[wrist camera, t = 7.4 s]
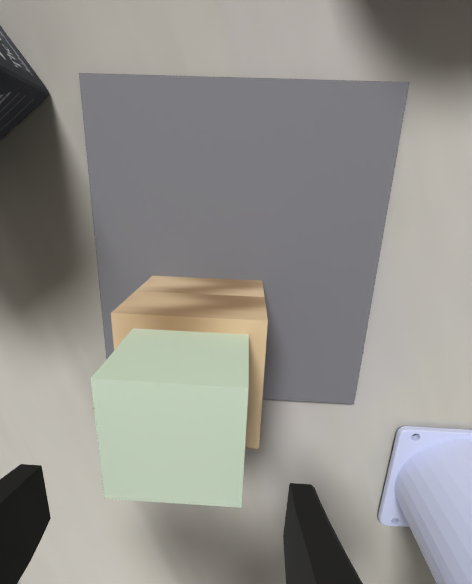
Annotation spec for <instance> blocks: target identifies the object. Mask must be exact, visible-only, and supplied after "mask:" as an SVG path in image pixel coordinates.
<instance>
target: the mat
mask: <svg viewBox="0 0 472 584" xmlns="http://www.w3.org/2000/svg"><path fill="white" fill-rule="evenodd" d="M79 78H80V89H81V99H82V109H83V120H84V130H85V140H86V151H87V161H88V172H89V182H90V192H91V203H92V213H93V223H94V234H95V244H96V255H97V265H98V275H99V286H100V296H101V306H102V317H103V327H104V337H105V348H106V358H107V359H108V357H109V356H110V355H111V354H112V353H113V351H114V344H113V332H112V321H111V312H113V311H114V310H115V309H116V308H117V307H118V306H119V305H120V304H121V303H123V302H124V301H125V300H126V299H127V298H128V297H129V296H130V295H132V294H133V293H134V292H135V291H136V290H137V289H138V288H139V287H140V286H141V285H143V284H144V283H145V282H146V281H147V280H148V279H149V278H150V277H151V276H171V277H193V278H215V279H238V280H260V281H262V282H263V289H264V297H265V303H266V311H267V318H268V326H267V340H266V354H265V368H264V382H263V397H262V399H270V400H288V401H306V402H325V403H343V404H354V401H355V395H356V389H357V383H358V378H359V372H360V366H361V360H362V354H363V349H364V343H365V337H366V331H367V325H368V320H369V314H370V308H371V302H372V296H373V291H374V285H375V279H376V273H377V267H378V261H379V256H380V250H381V244H382V238H383V232H384V227H385V221H386V215H387V209H388V203H389V198H390V192H391V186H392V180H393V174H394V168H395V163H396V157H397V151H398V145H399V139H400V134H401V128H402V122H403V116H404V110H405V105H406V99H407V93H408V87H409V82H381V81H345V80H309V79H273V78H237V77H201V76H165V75H129V74H93V73H79Z"/></svg>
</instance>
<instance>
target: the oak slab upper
mask: <svg viewBox="0 0 472 584" xmlns="http://www.w3.org/2000/svg"><path fill="white" fill-rule="evenodd" d="M111 321H112V332H113V344H114V350H115V349H116V348H117V347H118V346H119V344H120V343H121V342H122V341H123V340H124V338H125V337H126V336H127V335H128V334H129V332H130V331H131V330H132V329H133V328H134V329H153V330H172V331H191V332H210V333H229V334H247V335H249V389H248V406H247V423H246V440H245V448H256V449H259V439H260V425H261V411H262V397H263V382H264V368H265V354H266V340H267V326H268V318H267V311H266V303H265V297H252V296H231V295H209V294H187V293H166V292H144V291H135V292H134V293H133V294H132V295H130V296H129V297H128V298H127V299H126V300H125V301H124V302H123V303H121V304H120V305H119V306H118V307H117V308H116V309H115V310H114V311H113V312H111Z"/></svg>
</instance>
